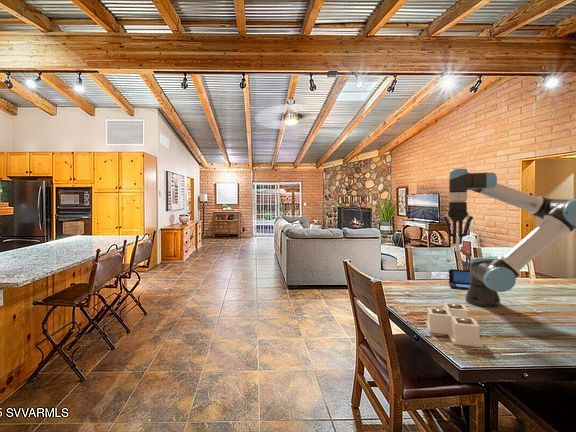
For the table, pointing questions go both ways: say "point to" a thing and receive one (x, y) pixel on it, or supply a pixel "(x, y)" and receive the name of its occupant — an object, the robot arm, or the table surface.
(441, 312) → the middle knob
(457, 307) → the knob
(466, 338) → the knob panel
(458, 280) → the handheld game console
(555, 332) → the table surface
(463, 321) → the knob
